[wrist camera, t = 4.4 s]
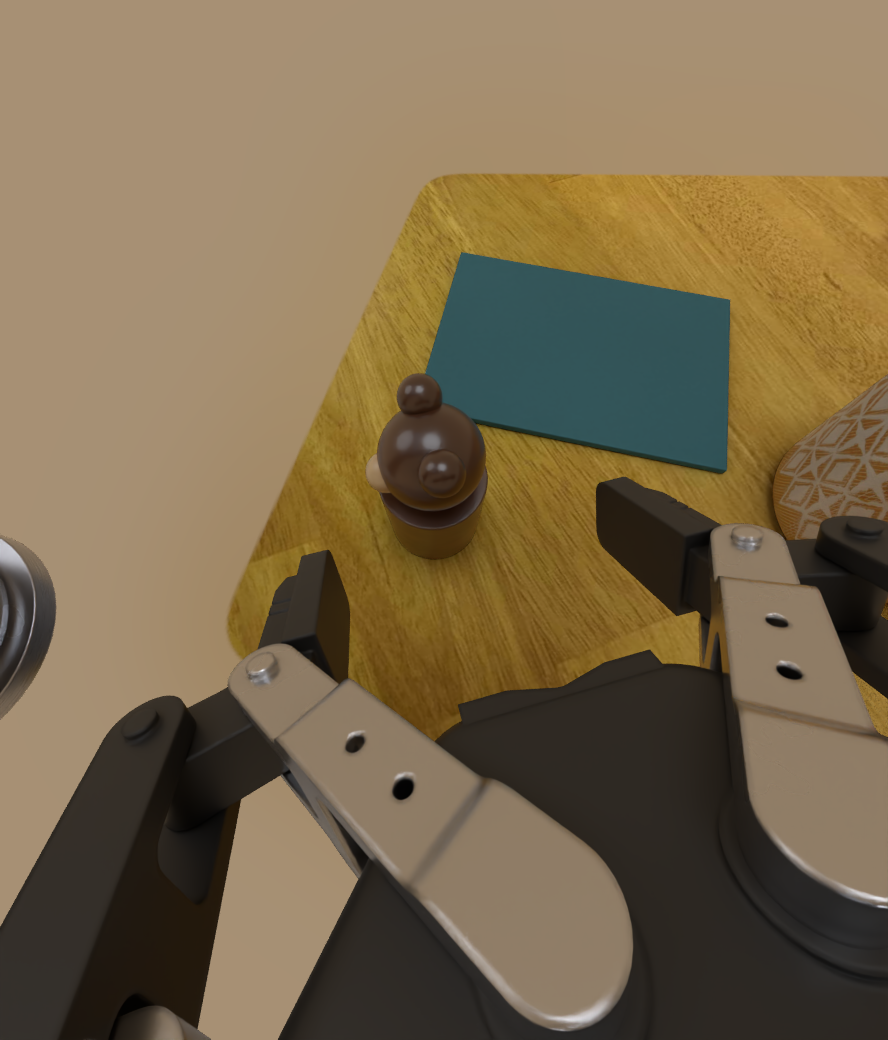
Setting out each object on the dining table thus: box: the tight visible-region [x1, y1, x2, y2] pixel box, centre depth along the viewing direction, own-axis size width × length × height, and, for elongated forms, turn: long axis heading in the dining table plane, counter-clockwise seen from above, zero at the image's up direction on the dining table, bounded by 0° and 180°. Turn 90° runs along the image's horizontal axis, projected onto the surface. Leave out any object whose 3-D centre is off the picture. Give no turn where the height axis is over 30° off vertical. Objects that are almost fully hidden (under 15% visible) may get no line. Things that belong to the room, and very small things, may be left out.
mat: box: [425, 252, 730, 473], centre depth 29 cm, size 20×14×1 cm
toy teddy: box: [366, 373, 488, 559], centre depth 20 cm, size 6×5×11 cm
